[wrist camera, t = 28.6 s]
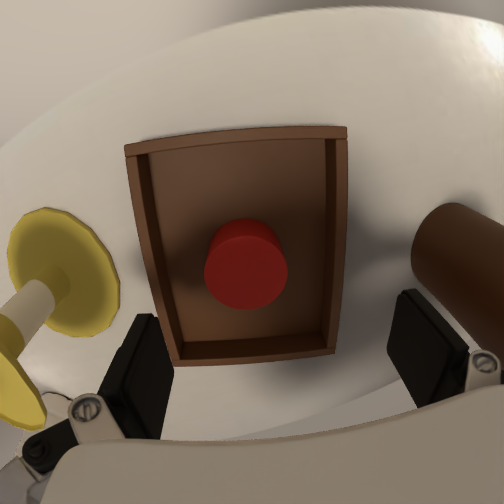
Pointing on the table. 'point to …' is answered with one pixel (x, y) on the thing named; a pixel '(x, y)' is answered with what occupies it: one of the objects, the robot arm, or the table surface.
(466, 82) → the table surface
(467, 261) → the bottle
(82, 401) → the robot arm
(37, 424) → the candle
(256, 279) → the cap
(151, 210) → the tray
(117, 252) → the table surface
